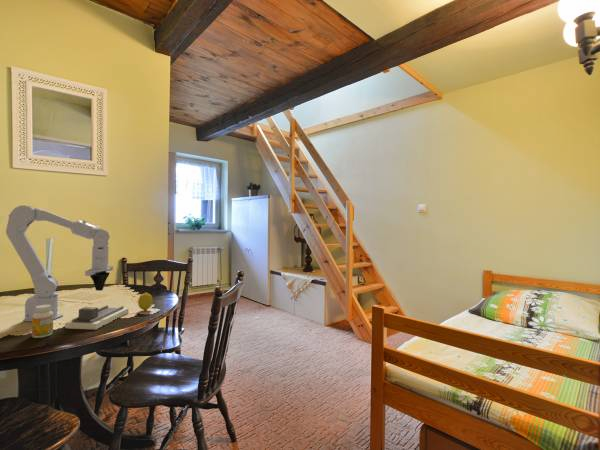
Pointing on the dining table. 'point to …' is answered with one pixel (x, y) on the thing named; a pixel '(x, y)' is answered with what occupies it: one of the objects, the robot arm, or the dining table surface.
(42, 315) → the supplement bottle
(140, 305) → the yellow oval piece
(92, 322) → the fader console
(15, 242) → the robot arm
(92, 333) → the dining table surface
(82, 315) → the fader knob
